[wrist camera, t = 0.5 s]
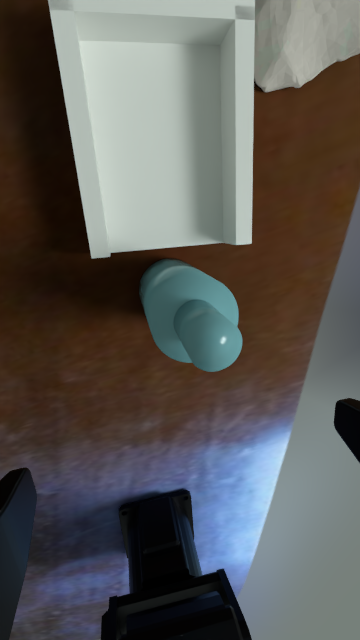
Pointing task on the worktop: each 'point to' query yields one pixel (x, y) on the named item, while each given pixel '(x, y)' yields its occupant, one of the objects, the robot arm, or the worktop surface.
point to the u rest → (160, 119)
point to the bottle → (190, 315)
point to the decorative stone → (302, 39)
